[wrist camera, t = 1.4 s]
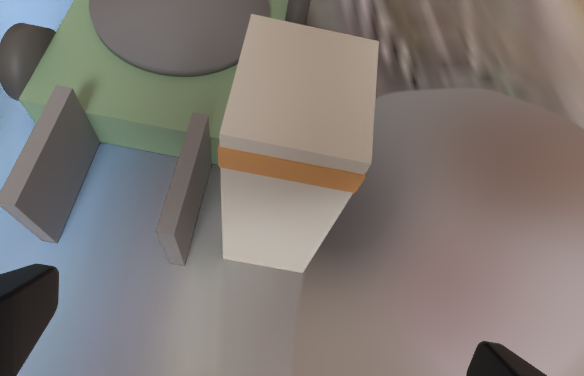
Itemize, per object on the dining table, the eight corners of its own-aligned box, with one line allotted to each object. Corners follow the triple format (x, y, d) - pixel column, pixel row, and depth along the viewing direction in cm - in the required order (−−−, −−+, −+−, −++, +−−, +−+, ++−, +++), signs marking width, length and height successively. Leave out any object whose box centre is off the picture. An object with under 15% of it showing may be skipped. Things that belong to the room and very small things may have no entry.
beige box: (303, 273, 23) (373, 165, 12) (222, 259, 23) (217, 135, 12) (313, 193, 26) (380, 40, 14) (240, 179, 25) (250, 12, 14)
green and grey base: (258, 278, 23) (266, 250, 18) (-38, 226, 22) (-105, 184, 17) (307, 10, 33) (319, -50, 28) (103, -34, 32) (83, -104, 27)
